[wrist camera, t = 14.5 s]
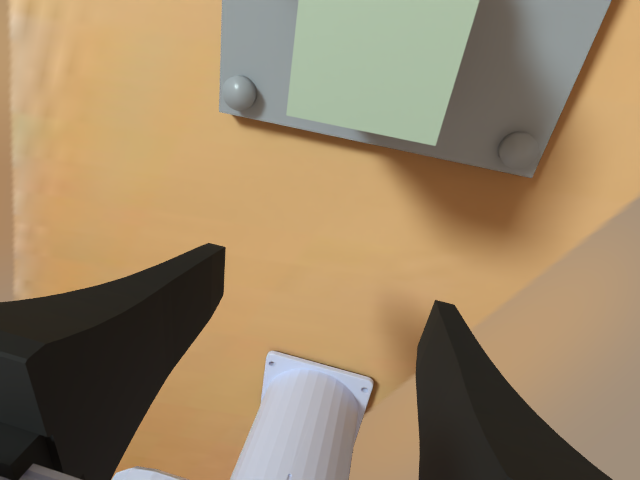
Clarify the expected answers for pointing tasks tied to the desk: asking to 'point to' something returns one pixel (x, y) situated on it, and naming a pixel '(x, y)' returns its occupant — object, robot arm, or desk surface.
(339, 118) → the sage brick
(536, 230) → the desk surface
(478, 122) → the baseplate
